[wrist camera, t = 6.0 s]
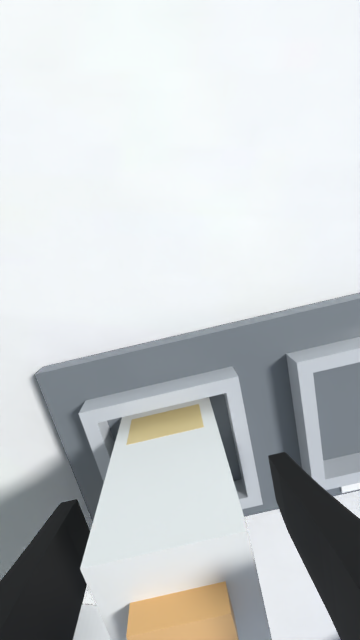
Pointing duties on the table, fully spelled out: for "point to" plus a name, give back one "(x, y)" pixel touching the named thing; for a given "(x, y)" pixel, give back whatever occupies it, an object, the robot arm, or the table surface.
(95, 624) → the coffee cup
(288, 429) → the panel
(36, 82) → the table surface
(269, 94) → the table surface
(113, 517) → the plug
